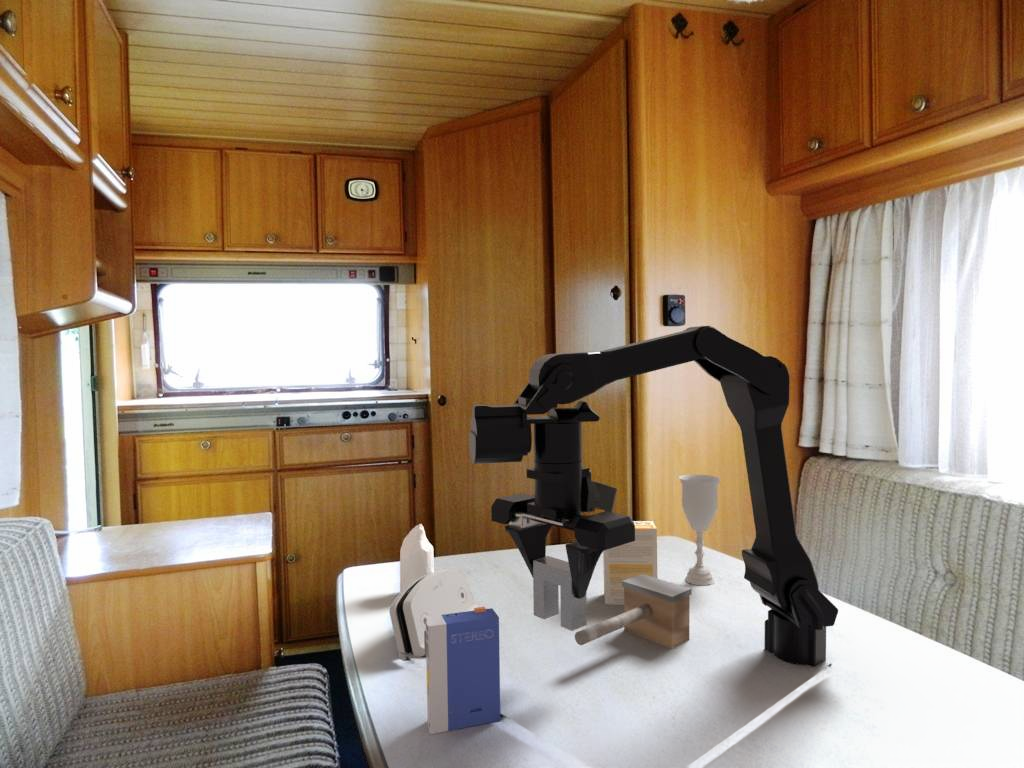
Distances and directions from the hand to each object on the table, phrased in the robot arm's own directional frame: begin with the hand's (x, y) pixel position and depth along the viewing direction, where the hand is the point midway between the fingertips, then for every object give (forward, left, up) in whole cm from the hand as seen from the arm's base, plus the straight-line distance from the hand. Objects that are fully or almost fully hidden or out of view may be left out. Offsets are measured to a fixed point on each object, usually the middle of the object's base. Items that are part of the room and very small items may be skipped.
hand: (559, 590), depth 81 cm
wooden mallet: (0, -12, -12) cm, 17 cm away
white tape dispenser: (+22, +2, -12) cm, 25 cm away
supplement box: (+11, -27, -12) cm, 32 cm away
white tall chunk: (+38, -5, -12) cm, 40 cm away
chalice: (+10, -45, -12) cm, 48 cm away
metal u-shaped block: (0, 0, -4) cm, 4 cm away
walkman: (+2, +13, -12) cm, 18 cm away
